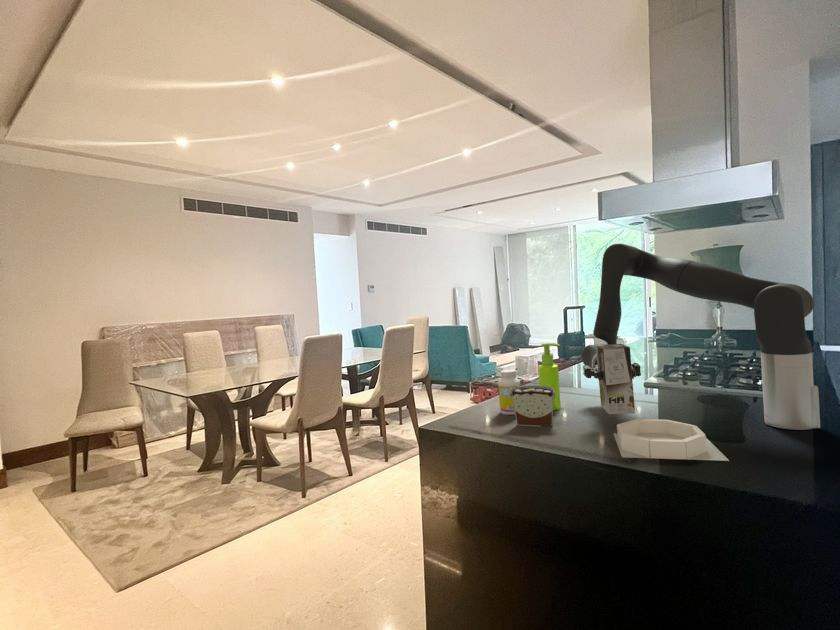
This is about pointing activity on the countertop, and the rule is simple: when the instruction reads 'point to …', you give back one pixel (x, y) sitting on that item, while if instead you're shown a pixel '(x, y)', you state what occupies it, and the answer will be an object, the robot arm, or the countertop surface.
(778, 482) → the countertop surface
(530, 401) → the food container
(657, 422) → the bowl
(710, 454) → the mat
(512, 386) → the supplement bottle
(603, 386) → the coffee box
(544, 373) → the soap dispenser
